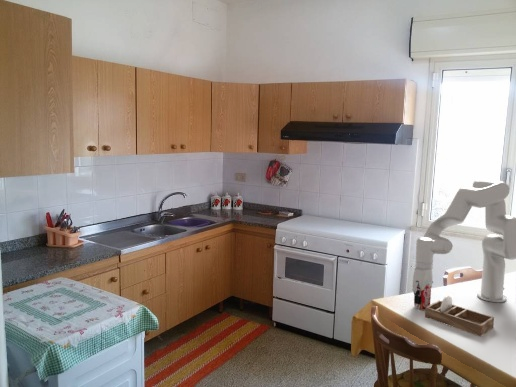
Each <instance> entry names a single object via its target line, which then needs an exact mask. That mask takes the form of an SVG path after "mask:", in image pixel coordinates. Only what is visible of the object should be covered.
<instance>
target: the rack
mask: <svg viewBox="0 0 516 387" xmlns="http://www.w3.org/2000/svg"><path fill="white" fill-rule="evenodd" d="M442 301H443V300H437V301H435V302H433V303H432V304H431V303H430V305H429V306H427V307H425V310H424V318H427V319H430V320H432V321H436V322H438V323H440V324H444V325H446V324H447V326H449V325H450V327H452V326H453V328H455V329H459V330H461V331H465V332H467V333H470V334H473V335H476V336H479V337H483V335H485V334H487V333H488V332H489V331H490V330H492V329H493V328H494V325H495V317H493V316H492V315H488V314H485V313H481V312H478V311H474V310H473V309H472V310H471V309H469V308H468V309H467V308H465V307H462V306H458V305H455V304H452V308H451V309H449V310H448V311H446V312H444V313H443V312H441V311H440V308H441V303H442Z"/></svg>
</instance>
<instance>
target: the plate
mask: <svg viewBox="0 0 516 387" xmlns="http://www.w3.org/2000/svg"><path fill="white" fill-rule="evenodd" d="M452 299H453V298H452V297H451V296H450V295H446V296H444V297H443V299H442V300H441V301H442V303H441V308H440V311H441V312H443V313H444V312H446V311H448V310H449V309H451V308H452V305H453V300H452Z"/></svg>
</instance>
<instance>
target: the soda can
mask: <svg viewBox="0 0 516 387" xmlns="http://www.w3.org/2000/svg"><path fill="white" fill-rule="evenodd" d="M418 289H420V288H419V287H418ZM417 291H418V292H419V290H417ZM413 295H414V294H413ZM431 295H432V287H430V284H429V285H426V287H425V288H424V290H422V293H421V296H422V298H421V305H419V304H416V303H414V302H413V305H414V308H416V309H417V310H419V311H425V307H427V306H429V305H431V299H432V298H431ZM414 296H415V295H414Z"/></svg>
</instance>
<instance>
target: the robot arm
mask: <svg viewBox="0 0 516 387" xmlns="http://www.w3.org/2000/svg"><path fill="white" fill-rule="evenodd" d="M509 194H510V186H509V185H508V184H507V183H506V182H504V181H501V180H493V179H486V178H478V179H475V180H474V181H473V183H472V187H471V186H463V187H460V188H459V189H458V191H457V192H456V194H455V195H454V197H453V199H452V201H451V203H450V205H449V207H448V208H447V210H446V211H445V213H444V214H443V215H440V217H438V218H437V219H436V220H434V221H433V222H432V223H430V225H429V226H428V228H427V229H426V231H425V233H424V235H423V237H419V238H418V237H417V239H416V243H415V244H416V247H415V264H414V265H415V266H414V267H415V268H414V271H413V274H412V284H411V285H412V291H413V295H415V296H414V297H413V304H414V303H416V304H419V305H421V298H422V296H421V293H422V290H424V288H425V287H426V285H429V284H430V287H431V288H432V287H433V283H434V281H433V269H434V255H447V254H449V253H451V251H452V250H453V243H452V241H451V240H450V239H448V238H446V237H443V236H441V234H442V232H443V231H444V230H446V229H448V228H449V227H453V226H457V225H459V224H460V225H461V224H462V223H464V222H465V219H466V218H467V216H468V215H469V213H470V211H471V209H472V208H477V209H481V208H484V210H485V214H484V215H485V217H484V218H485V220H484V222H485V228H486V230H487V231H489V232H491V234H488V235H485V236H484V238H483V239H482V242H481V249H482V256H483V257H482V258H483V261H482V270H481V271H482V272H481V273H482V274H481V286H480V291H478V292H476V293H477V297H478V298H479V299H481V300H483V301H486V302H491V303H503V302H506V301H507V296H506V295H505V294H504V290H505V287H504V283H505V272H506V261H505V259H506V260H511V261H513V260H516V217H515V216H512V215H508V214H507V209H506V200H505V199H506V198H507V197H508V196H509ZM418 287H419V288H420V289H418ZM417 290H419V292H418V291H417Z"/></svg>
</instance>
